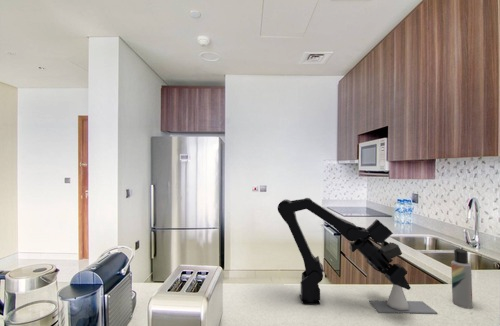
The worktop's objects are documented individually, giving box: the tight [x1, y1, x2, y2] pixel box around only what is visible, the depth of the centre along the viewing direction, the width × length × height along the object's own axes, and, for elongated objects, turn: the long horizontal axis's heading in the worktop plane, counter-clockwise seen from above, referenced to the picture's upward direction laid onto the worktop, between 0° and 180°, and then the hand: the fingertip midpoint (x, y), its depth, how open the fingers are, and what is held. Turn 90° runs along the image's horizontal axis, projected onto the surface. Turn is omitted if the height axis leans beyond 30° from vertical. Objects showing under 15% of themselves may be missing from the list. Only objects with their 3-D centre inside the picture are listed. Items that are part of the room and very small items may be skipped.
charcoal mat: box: [368, 299, 438, 315], centre depth 91 cm, size 20×8×1 cm, turn 89°
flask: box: [386, 283, 409, 311], centre depth 91 cm, size 7×7×10 cm
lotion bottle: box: [450, 248, 473, 309], centre depth 94 cm, size 6×6×20 cm
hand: (401, 283), depth 91 cm, fingers open, 9 cm apart
